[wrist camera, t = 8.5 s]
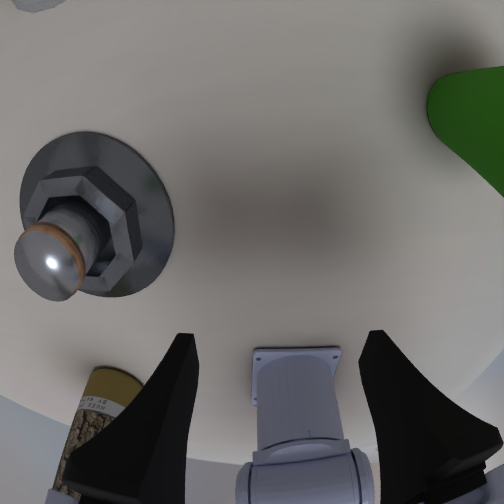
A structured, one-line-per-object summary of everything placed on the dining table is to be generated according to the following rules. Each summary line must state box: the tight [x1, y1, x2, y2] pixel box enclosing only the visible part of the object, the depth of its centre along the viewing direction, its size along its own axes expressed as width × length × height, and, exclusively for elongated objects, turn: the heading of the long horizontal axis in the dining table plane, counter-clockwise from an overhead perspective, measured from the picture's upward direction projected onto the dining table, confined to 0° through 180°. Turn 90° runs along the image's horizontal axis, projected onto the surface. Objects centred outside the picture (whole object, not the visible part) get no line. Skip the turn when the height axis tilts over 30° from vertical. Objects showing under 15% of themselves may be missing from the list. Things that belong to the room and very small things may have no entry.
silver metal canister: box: [14, 195, 112, 301], centre depth 17 cm, size 5×5×6 cm
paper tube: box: [52, 368, 143, 500], centre depth 20 cm, size 7×7×25 cm
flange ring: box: [20, 132, 174, 297], centre depth 19 cm, size 13×13×2 cm
